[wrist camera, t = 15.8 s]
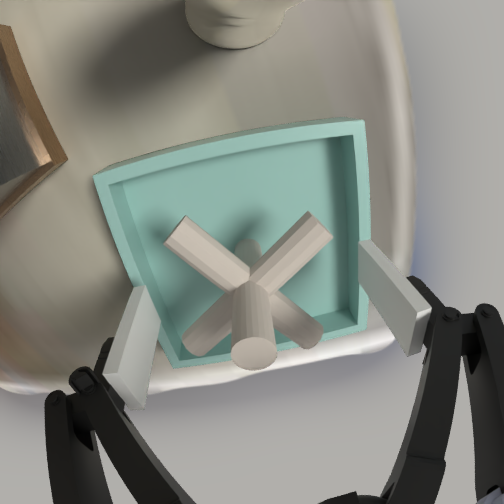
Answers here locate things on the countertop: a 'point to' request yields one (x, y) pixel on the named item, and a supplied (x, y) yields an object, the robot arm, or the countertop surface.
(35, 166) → the mounted unit
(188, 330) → the pipe connector
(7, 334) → the countertop surface
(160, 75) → the countertop surface
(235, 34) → the beer glass
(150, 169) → the tray
